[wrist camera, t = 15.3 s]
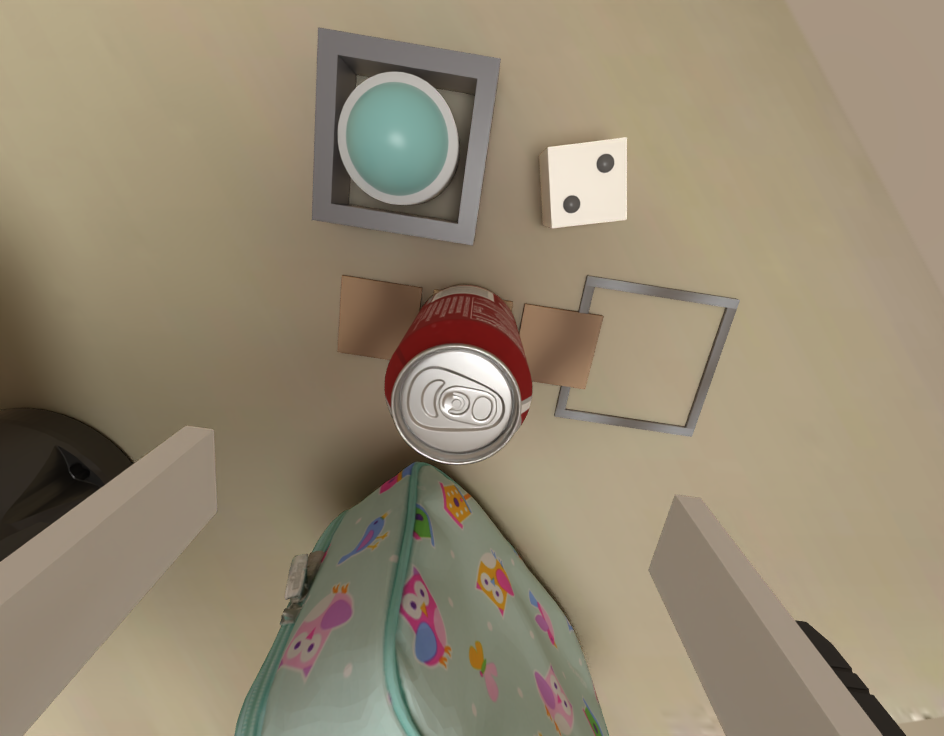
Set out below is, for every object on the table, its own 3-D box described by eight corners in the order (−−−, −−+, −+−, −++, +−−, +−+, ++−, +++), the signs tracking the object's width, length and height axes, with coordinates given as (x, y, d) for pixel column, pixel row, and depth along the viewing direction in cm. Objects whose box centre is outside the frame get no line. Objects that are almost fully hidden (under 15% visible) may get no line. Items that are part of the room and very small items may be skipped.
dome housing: (331, 218, 28) (312, 219, 25) (339, 50, 25) (318, 27, 22) (474, 241, 29) (473, 245, 25) (498, 78, 26) (500, 58, 22)
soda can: (425, 272, 29) (388, 313, 18) (527, 295, 29) (556, 349, 18) (407, 369, 31) (365, 460, 20) (503, 389, 32) (514, 491, 20)
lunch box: (315, 483, 35) (85, 862, 15) (423, 416, 33) (328, 750, 13) (503, 692, 42) (522, 1142, 22) (602, 647, 40) (725, 1099, 20)
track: (337, 382, 32) (335, 384, 32) (345, 237, 29) (343, 237, 28) (690, 435, 33) (692, 437, 32) (738, 299, 29) (740, 300, 29)
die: (542, 225, 28) (552, 228, 24) (538, 156, 27) (548, 147, 23) (607, 218, 28) (627, 219, 24) (606, 147, 27) (627, 137, 23)
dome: (350, 196, 26) (320, 193, 22) (357, 78, 24) (325, 46, 20) (452, 212, 27) (445, 213, 22) (467, 97, 25) (463, 69, 20)
